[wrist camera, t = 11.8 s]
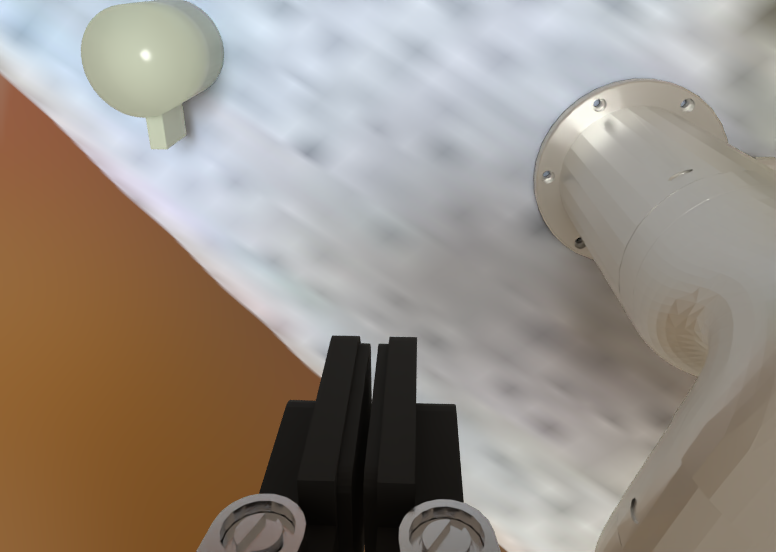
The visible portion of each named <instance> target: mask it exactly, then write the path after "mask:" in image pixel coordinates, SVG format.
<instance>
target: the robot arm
mask: <svg viewBox="0 0 776 552" xmlns="http://www.w3.org/2000/svg"><path fill="white" fill-rule="evenodd" d="M597 99H599V100H600V104H599V105H598V106H593V103H594V101H595V100H597ZM684 100H686V104H685V105H684V106H683V107H681V106H680V105H681V103H682V102H683V101H684ZM545 171H550V173H549V175H548V176H546V177H545V176H543V173H544V172H545ZM534 189H535V197H536V200H537V204H538V208H539V211H540V213H541V215H542V217H543V219H544V221H545V223H546V224H547V226H548V227H549V229H550V231H551V232H552V234H553V235H554V236H555V237H556V238H557V239H558V240H559V241H560V242H561V243H562V244H563V245H565V246H566V247H568V248H569V249H571V250H572V251H573V252H575V253H577V254H580V255H582V256H585V257H587V258H590V259H592V260H595V262H596V264H597V265H598V267H599V269H600V270H601V272H602V274H603V275H604V277H605V279H606V281H607V282H608V284H609V286H610V287H611V289H612V291H613V292H614V294H615V296H616V297H617V299H618V301H619V302H620V304H621V306H622V308H623V309H624V311H625V313H626V314H627V316H628V318H629V319H630V321H631V323H632V324H633V326H634V327H635V329H636V331H637V332H638V334H639V335H640V336H641V338H642V339H643V340H644V342H645V343H646V344H647V345H648V347H650V348H651V349H652V350H653V351H654V352H655V353H656V354H657V355H658V356H659V357H661V358H662V359H663V360H665V361H666V362H667V363H669V364H671V365H673V366H674V367H676V368H678V369H680V370H682V371H684V372H687V373H689V374H691V375H694V376H697V377H698V378H697V380H696V382H695V383H694V385H693V387H692V388H691V390H690V392H689V393H688V395H687V396H686V398H685V400H684V401H683V403H682V404H681V406H680V407H679V409H678V410H677V411H676V413H675V415H674V416H673V419H672V422H671V424H670V425H669V427H668V428H667V430H666V431H665V433H664V434H663V436H662V437H661V439H660V440H659V442H658V443H657V445H656V446H655V448H654V449H653V451H652V453H651V454H650V456H649V457H648V459H647V460H646V462H645V463H644V465H643V466H642V468H641V469H640V471H639V472H638V474H637V475H636V477H635V478H634V480H633V481H632V483H631V484H630V486H629V487H628V489H627V490H626V492H625V493H624V495H623V497H622V499H621V500H620V502H619V504H618V505H617V507H616V508H615V510H614V511H613V513H612V514H611V516H610V518H609V520H608V522H607V523H606V525H605V527H604V529H603V531H602V533H601V535H600V537H599V540H598V542H597V545H596V549H595V552H776V158H775V157H750V156H749V155H747V154H745V153H744V152H742V151H740V150H738V149H737V148H735V147H733V146H731V145H730V144H728V140H727V137H726V134H725V131H724V129H723V126H722V123H721V122H720V120H719V119H718V117H717V116H716V114H715V112H714V111H713V109H712V108H711V107H710V106H709V105H708V104H706V103H705V102H704V101H703V100H702V99H701V98H700V97H699V96H697V95H696V94H694V93H692V92H690V91H689V90H687V89H685V88H683V87H681V86H678V85H676V84H674V83H671V82H667V81H662V80H657V79H629V80H623V81H618V82H613V83H611V84H608V85H606V86H603V87H600V88H598V89H595V90H594V91H592V92H590V93H589V94H587V95H585V96H584V97H582V98H580V99H579V100H577V101H576V102H575V103H574V104H573V105H572V106H570V107H569V108H568V109H567V110H566V111H565V112H564V113H563V114H562V115H561V116H560V117H559V119H558V120H557V121H556V122H555V123H554V125H553V126H552V127H551V129H550V131H549V132H548V134H547V136H546V138H545V139H544V141H543V143H542V146H541V148H540V151H539V154H538V157H537V160H536V166H535V173H534ZM580 237H581V240H580V241H575V240H576V239H578V238H580ZM416 370H417V337H390V338H389V344H379V345H378V354H377V362H376V371H375V380H374V389H373V398H372V391H371V346H370V344H364V343H361V341H360V336H332V337H331V341H330V345H329V349H328V353H327V358H326V362H325V366H324V370H323V374H322V378H321V382H320V386H319V390H318V395H317V399H316V401H305V400H304V401H303V400H290V401H288V403H287V405H286V408H285V411H284V415H283V418H282V421H281V424H280V428H279V431H278V434H277V437H276V440H275V444H274V447H273V451H272V453H271V457H270V460H269V463H268V466H267V470H266V473H265V476H264V480H263V483H262V486H261V489H260V492H259V494H257V495H252V496H247V497H244V498H242V499H240V500H238V501H236V502H233V503H232V504H230V505H229V506H228V507H226V508H225V509H224V510H223V511H221V513H220V514H219V515H218V516H217V518H216V519H215V520H214V522H213V523H212V525H211V527H210V528H209V530H208V532H207V534H206V535H205V537H204V539H203V541H202V542H201V545H200V546H199V548H198V549H197V551H196V552H364V545H365V552H501V551H500V548H499V545H498V542H497V539H496V536H495V532H494V530H493V528H492V526H491V524H490V522H489V520H488V519H487V518H486V517H485V516H484V515H483V514H482V513H481V512H480V511H479V510H477V509H475V508H473V507H472V506H470V505H468V504H466V503H464V501H463V489H462V476H461V463H460V451H459V438H458V425H457V413H456V405H455V404H422V403H416Z"/></svg>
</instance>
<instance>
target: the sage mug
mask: <svg viewBox="0 0 776 552" xmlns="http://www.w3.org/2000/svg"><path fill="white" fill-rule="evenodd" d="M81 58H82V64H83V68H84V71H85V74H86V76H87V79H88V80H89V82H90V84H91V86H92V87H93V89H94V90H95V92H96V93H97V94H98V95H99V96H100V97H101V98H102V99H103V100H104V101H105V102H106V103H107V104H109V105H110V106H111V107H113V108H114V109H116V110H118V111H120V112H122V113H124V114H127V115H130V116H135V117H143V118H146V121H147V127H148V134H149V140H150V146H151V149H168V148H170V147H171V146H173V145H174V144H175V143H177V142H178V141H180V140H181V139H182V138H184V137H185V136H187V134H186V127H185V120H184V113H183V105H182V103H183V102H185V101H187V100H189V99H190V98H192V97H194V96H196V95H197V94H199V93H201V92H203V91H205V90H206V89H207V88H209V87H210V86H211V85H212V84H213V83H214V82H215V81H216V79H217V78H218V76H219V74H220V72H221V69H222V66H223V60H224V48H223V42H222V39H221V36H220V33H219V31H218V29H217V27H216V25H215V24H214V22H213V21H212V20H211V18H210V17H209V16H208V15H207V14H206V13H205V12H204V11H203V10H201V9H200V8H199V7H197V6H196V5H194V4H192V3H190V2H187V1H184V0H154V1H145V2H137V3H129V4H121V5H115V6H111V7H109V8H106V9H104V10H103V11H101V12H99V13H98V14H97V15H96V16H95V17H94V18H93V19H92V20H91V21H90V23H89V24H88V26H87V27H86V30H85V32H84V35H83V39H82V44H81Z"/></svg>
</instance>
